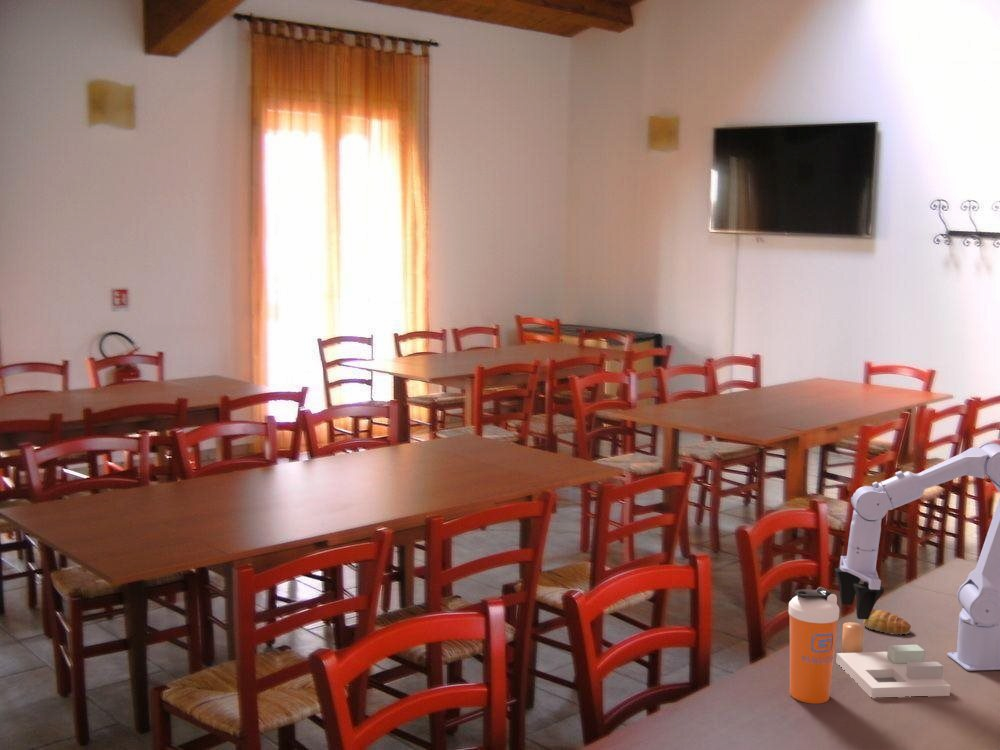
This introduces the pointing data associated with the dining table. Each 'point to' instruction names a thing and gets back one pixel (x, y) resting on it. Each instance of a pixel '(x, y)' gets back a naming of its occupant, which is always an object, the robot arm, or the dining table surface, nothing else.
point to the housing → (893, 675)
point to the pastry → (886, 623)
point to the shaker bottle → (812, 644)
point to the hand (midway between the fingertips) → (854, 611)
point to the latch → (905, 653)
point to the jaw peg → (852, 638)
